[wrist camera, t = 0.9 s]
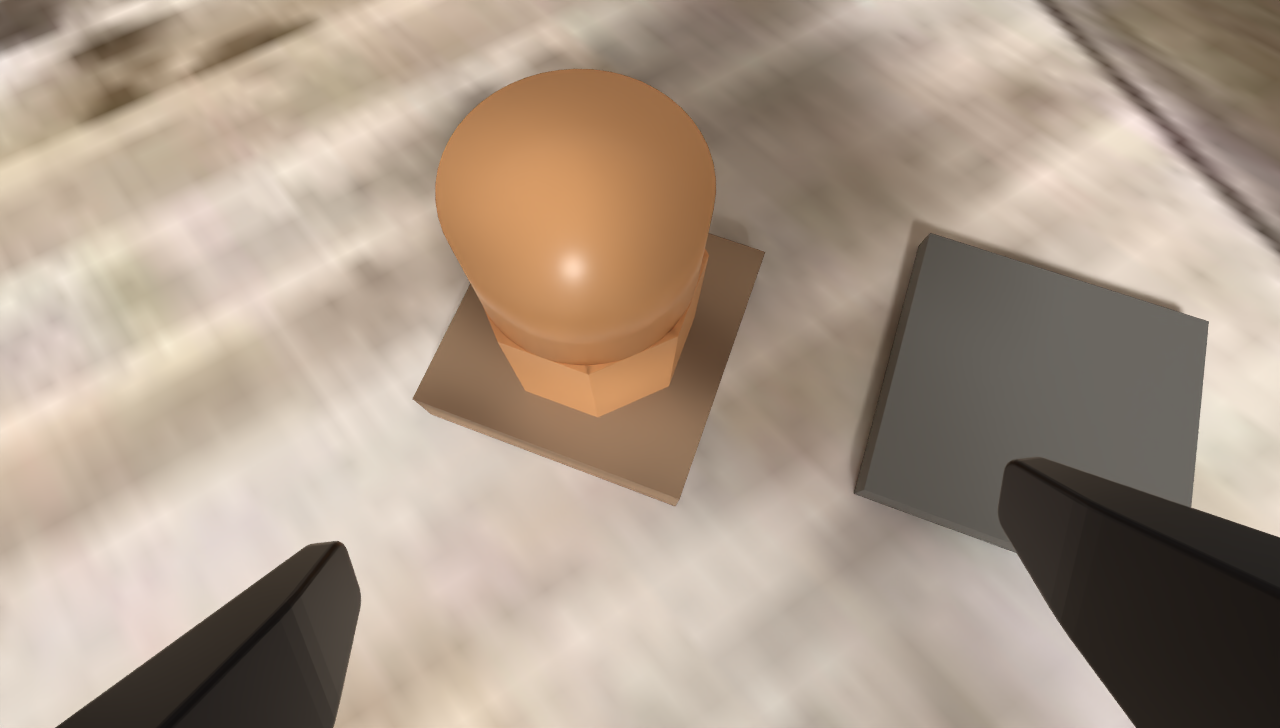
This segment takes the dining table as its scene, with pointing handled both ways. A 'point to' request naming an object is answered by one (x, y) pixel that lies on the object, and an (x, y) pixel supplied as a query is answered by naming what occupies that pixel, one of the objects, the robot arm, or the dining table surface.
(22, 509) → the dining table surface
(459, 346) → the post stand
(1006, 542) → the mat
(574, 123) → the orange rounded bulb shape
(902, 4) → the dining table surface
